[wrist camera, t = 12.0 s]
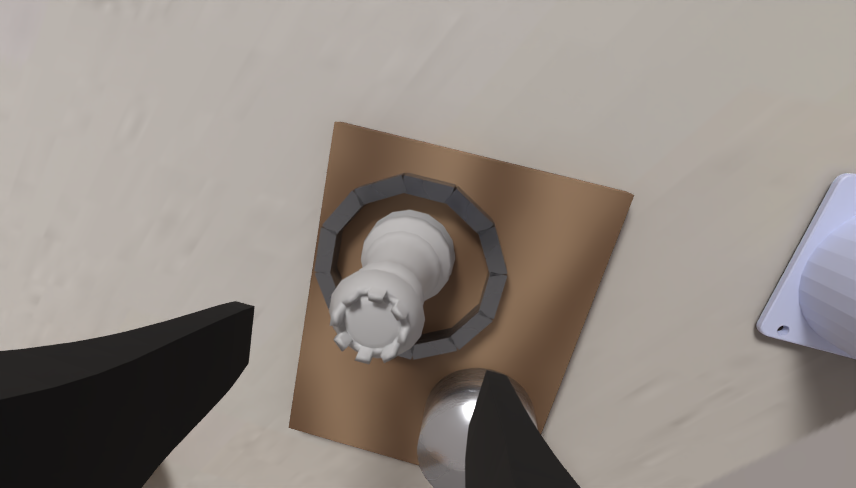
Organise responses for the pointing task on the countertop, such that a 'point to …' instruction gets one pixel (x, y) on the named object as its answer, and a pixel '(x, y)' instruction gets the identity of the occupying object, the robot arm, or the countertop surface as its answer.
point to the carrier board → (456, 287)
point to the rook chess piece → (392, 286)
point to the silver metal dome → (453, 425)
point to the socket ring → (465, 209)
